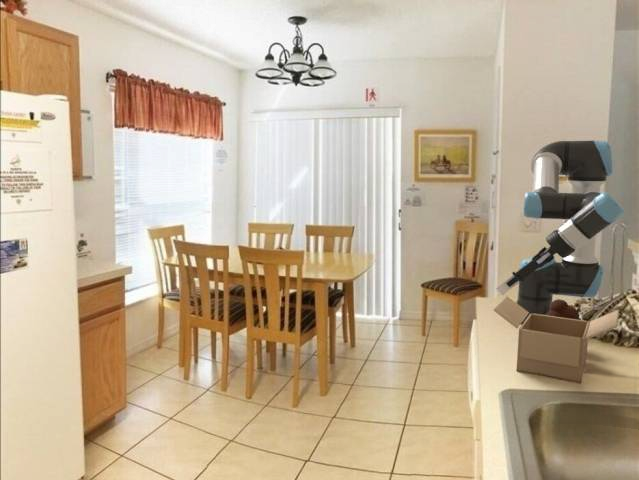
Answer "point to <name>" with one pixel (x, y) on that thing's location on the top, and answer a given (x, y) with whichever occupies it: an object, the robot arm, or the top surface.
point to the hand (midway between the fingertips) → (499, 291)
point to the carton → (553, 347)
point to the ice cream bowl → (563, 310)
